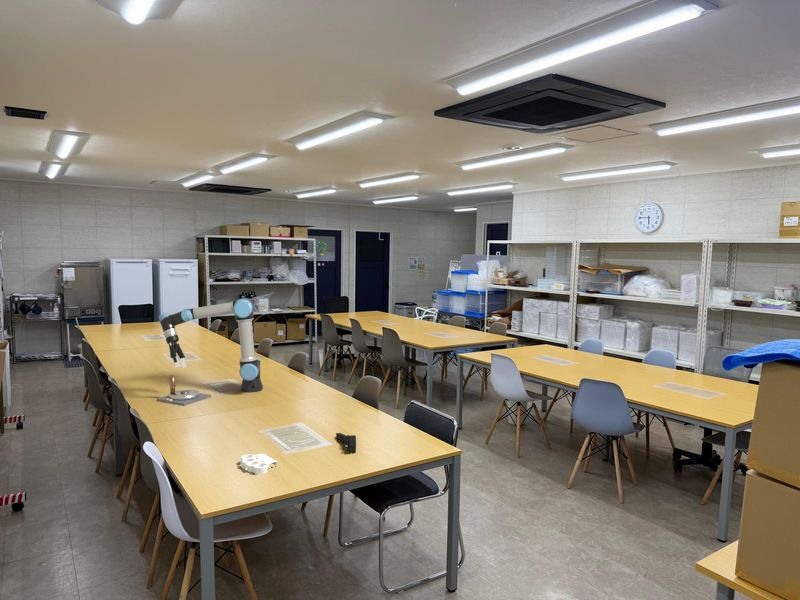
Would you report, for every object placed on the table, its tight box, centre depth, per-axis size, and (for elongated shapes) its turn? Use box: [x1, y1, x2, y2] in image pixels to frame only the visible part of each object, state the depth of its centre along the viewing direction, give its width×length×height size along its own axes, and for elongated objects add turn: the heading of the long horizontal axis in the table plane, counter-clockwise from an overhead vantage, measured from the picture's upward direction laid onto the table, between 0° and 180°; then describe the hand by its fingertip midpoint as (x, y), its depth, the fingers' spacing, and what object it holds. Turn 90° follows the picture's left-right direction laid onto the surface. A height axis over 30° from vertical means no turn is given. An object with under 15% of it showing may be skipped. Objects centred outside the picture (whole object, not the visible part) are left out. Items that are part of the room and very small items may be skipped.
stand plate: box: [156, 392, 212, 407], centre depth 342 cm, size 23×23×2 cm
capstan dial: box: [168, 374, 200, 400], centre depth 341 cm, size 18×18×14 cm
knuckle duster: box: [238, 453, 279, 475], centre depth 237 cm, size 3×18×15 cm
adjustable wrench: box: [335, 432, 357, 454], centre depth 265 cm, size 8×3×25 cm
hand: (181, 367), depth 339 cm, fingers open, 13 cm apart
